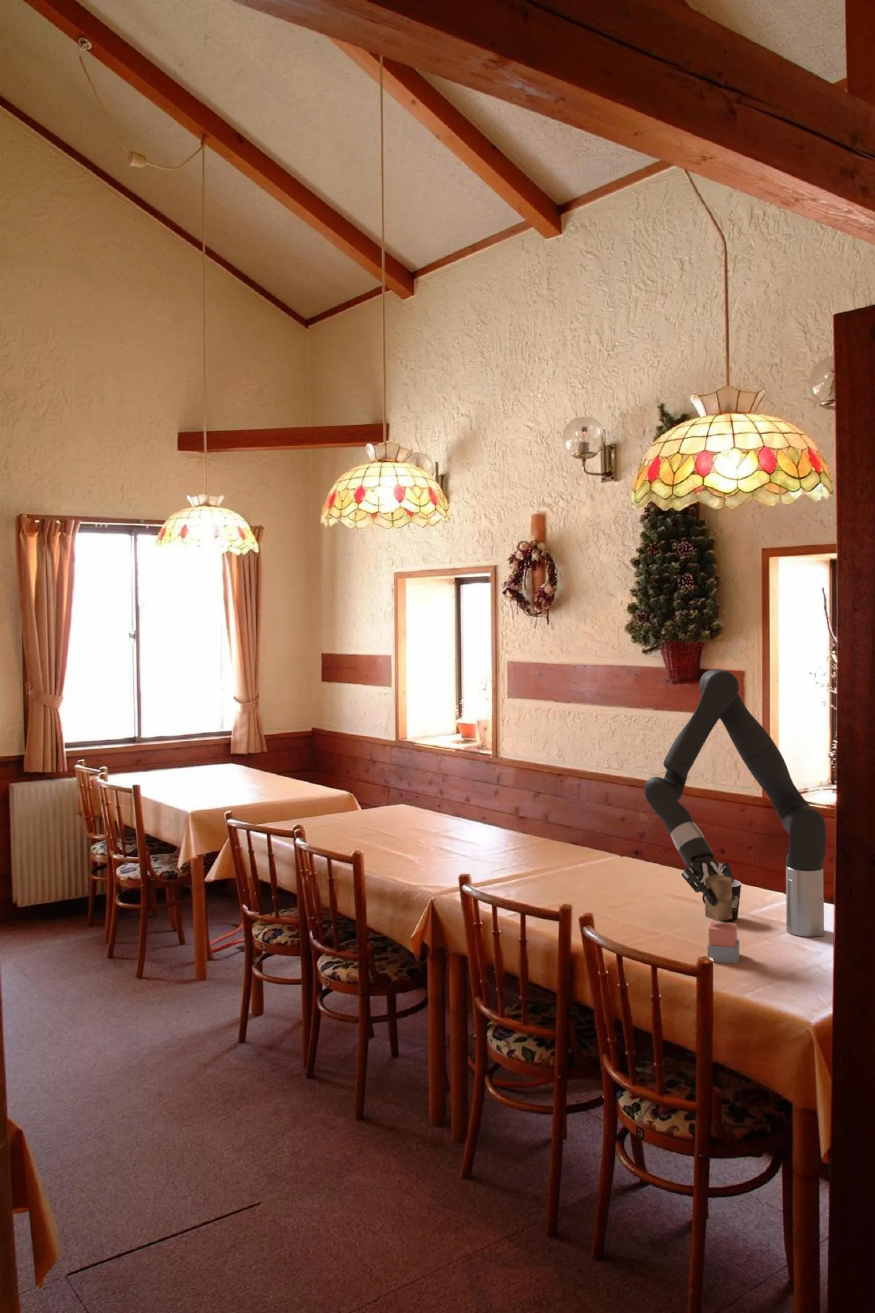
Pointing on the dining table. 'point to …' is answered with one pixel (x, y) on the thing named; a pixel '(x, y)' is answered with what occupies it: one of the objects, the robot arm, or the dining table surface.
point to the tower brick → (722, 934)
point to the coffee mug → (735, 904)
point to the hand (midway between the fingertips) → (724, 902)
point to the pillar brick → (720, 898)
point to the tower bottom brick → (724, 953)
